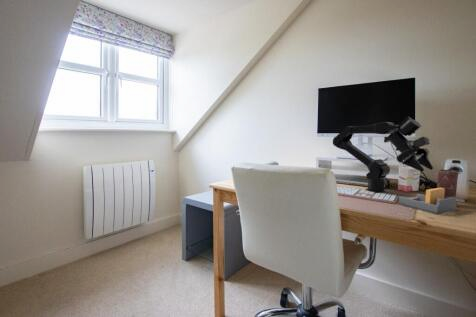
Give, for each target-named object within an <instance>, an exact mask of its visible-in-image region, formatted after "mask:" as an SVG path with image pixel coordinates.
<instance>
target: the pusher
mask: <svg viewBox="0 0 476 317" xmlns="http://www.w3.org/2000/svg"><path fill="white" fill-rule="evenodd" d="M444 193H445V188H437V187H436V188H430V189H426V190H425V196H426V199H425V203H429V204H433V205H436V202H437V200H439V199H444Z"/></svg>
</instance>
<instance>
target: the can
mask: <svg viewBox="0 0 476 317" xmlns="http://www.w3.org/2000/svg"><path fill="white" fill-rule="evenodd" d="M458 179H459V171H458V170H452V169H439V170H438V173H437V184H436V188H445V193H444V198H449V197H456V198H457V189H458V188H457V187H458ZM455 202H456V200H455Z"/></svg>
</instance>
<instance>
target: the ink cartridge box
mask: <svg viewBox="0 0 476 317" xmlns="http://www.w3.org/2000/svg"><path fill="white" fill-rule="evenodd" d="M401 165H402V163H399V170H398V172H399V173H398V184H397V185H398V187H397V190H398V191H401V190H402V191H401V192H405V193H407V192H408V193H409V192H416V191H419V187H420V176H421V171H419V170H417V169H414V168H412V167H410V166H407V165H405V164H403V167H401Z"/></svg>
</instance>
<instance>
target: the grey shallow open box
mask: <svg viewBox="0 0 476 317" xmlns="http://www.w3.org/2000/svg"><path fill="white" fill-rule="evenodd" d="M425 199H426V194H425V195H423V194H421V193H417V194H416V195H415V197H409V198H407V197H403V196H399V197H398V205H400V206H404V207H408V208H412V209H414V210H415V209H416V210H419V211H423V212H426V213H431V214H433V215H440V214H445V213H449V212H454V211H456V210H457V202H456V201H455V200H456V199H457V196H456V197H449V198H444V199H439V200H437V202H436V205H433V204H429V203H425Z"/></svg>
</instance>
